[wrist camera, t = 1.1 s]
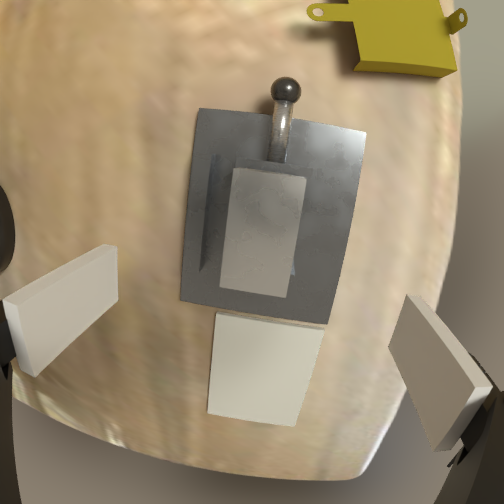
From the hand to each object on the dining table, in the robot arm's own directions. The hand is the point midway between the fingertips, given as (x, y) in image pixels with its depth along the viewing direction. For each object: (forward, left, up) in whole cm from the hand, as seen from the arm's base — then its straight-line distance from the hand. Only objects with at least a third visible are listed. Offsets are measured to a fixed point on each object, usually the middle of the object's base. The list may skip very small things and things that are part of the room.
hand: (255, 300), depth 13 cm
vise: (0, +2, -19) cm, 19 cm away
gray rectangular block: (0, +2, -18) cm, 18 cm away
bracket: (+8, +22, -19) cm, 31 cm away
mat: (+2, -19, -19) cm, 27 cm away
